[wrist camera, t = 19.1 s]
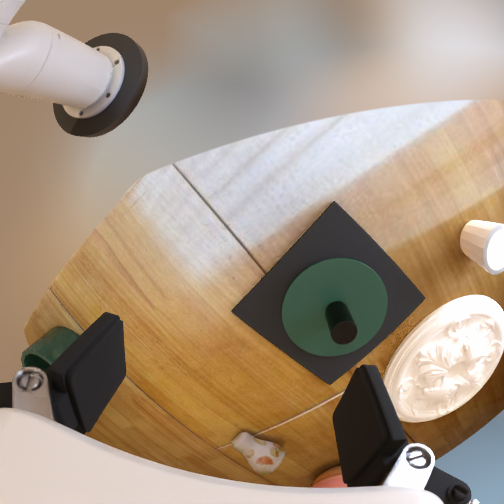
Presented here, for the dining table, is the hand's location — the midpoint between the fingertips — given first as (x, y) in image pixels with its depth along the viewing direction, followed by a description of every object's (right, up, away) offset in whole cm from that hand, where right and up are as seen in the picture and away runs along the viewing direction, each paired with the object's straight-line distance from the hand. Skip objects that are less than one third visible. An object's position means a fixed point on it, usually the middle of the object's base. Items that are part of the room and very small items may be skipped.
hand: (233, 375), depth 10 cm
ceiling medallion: (+36, -16, +29) cm, 49 cm away
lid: (+12, -3, +27) cm, 30 cm away
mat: (+12, -3, +28) cm, 31 cm away
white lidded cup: (+34, +7, +23) cm, 42 cm away
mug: (+2, -32, +37) cm, 49 cm away
